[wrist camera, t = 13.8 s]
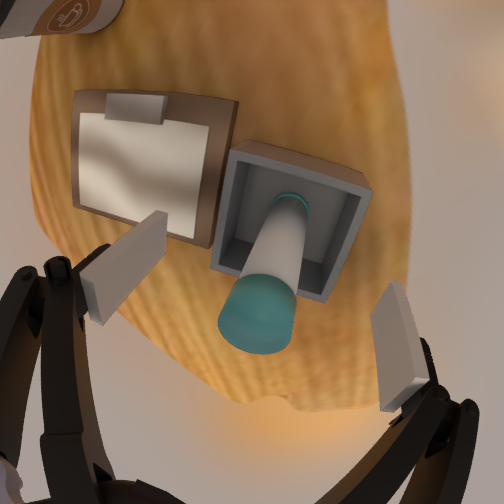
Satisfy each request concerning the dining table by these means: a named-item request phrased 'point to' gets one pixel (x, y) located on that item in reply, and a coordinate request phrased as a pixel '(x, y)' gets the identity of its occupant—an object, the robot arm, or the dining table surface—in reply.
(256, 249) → the marker
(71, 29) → the coffee cup
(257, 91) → the dining table surface
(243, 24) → the dining table surface
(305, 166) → the grey open box
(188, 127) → the clipboard
